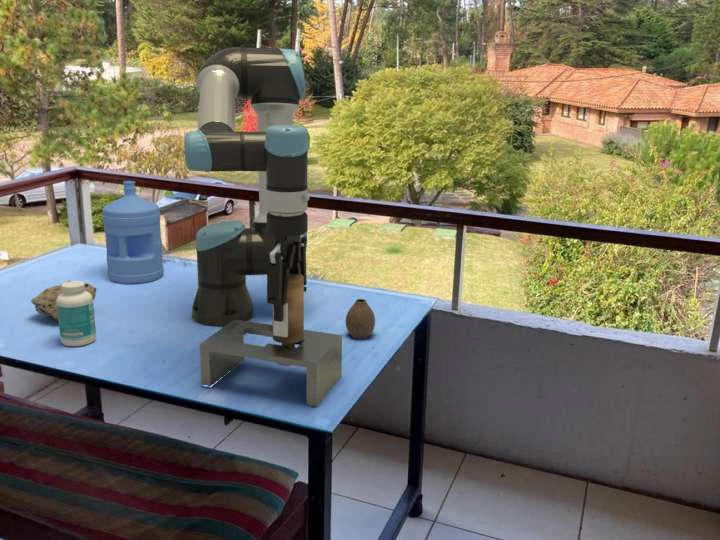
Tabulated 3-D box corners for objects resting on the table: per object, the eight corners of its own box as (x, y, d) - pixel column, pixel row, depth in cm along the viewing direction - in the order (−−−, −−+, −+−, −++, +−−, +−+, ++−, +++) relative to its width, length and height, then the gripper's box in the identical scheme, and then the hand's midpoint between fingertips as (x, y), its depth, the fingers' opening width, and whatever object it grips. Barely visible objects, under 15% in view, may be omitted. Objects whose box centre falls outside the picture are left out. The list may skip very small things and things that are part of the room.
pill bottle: (100, 343, 149) (95, 285, 145) (65, 350, 145) (58, 291, 141) (91, 332, 155) (86, 276, 151) (57, 339, 150) (51, 282, 146)
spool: (267, 363, 129) (266, 279, 124) (280, 351, 134) (279, 270, 129) (296, 368, 127) (296, 283, 122) (308, 355, 132) (308, 274, 127)
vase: (364, 343, 152) (365, 307, 150) (339, 336, 156) (340, 301, 153) (380, 334, 158) (381, 299, 155) (355, 327, 162) (356, 293, 159)
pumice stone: (80, 303, 173) (77, 273, 171) (107, 313, 166) (105, 283, 164) (28, 318, 162) (24, 287, 160) (55, 329, 156) (52, 297, 153)
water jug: (123, 267, 204) (116, 176, 196) (172, 270, 202) (167, 178, 194) (97, 282, 189) (88, 184, 181) (150, 286, 187) (143, 187, 179)
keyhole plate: (201, 386, 130) (199, 344, 127) (235, 358, 143) (234, 319, 140) (316, 407, 123) (316, 363, 121) (341, 376, 136) (342, 335, 133)
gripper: (284, 224, 112) (285, 350, 119) (324, 204, 130) (323, 315, 136) (244, 220, 114) (247, 344, 121) (288, 201, 132) (289, 310, 138)
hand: (287, 329), depth 129 cm, fingers closed on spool, 6 cm apart
